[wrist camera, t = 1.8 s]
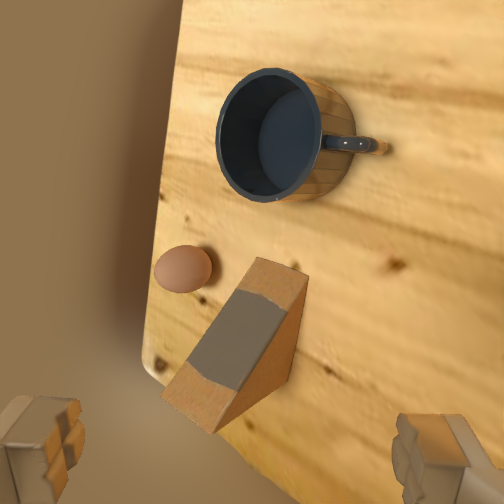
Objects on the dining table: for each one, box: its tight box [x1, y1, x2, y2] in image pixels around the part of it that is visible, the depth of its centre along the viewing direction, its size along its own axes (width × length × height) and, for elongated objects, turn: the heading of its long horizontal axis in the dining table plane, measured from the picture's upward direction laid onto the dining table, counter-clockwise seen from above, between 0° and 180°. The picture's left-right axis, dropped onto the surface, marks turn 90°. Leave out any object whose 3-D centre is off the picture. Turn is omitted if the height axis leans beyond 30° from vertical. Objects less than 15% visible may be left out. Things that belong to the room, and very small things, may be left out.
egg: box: [154, 245, 212, 293], centre depth 58 cm, size 7×7×9 cm
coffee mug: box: [215, 68, 387, 203], centre depth 45 cm, size 18×13×8 cm
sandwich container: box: [160, 257, 309, 434], centre depth 50 cm, size 9×15×15 cm, turn 168°
